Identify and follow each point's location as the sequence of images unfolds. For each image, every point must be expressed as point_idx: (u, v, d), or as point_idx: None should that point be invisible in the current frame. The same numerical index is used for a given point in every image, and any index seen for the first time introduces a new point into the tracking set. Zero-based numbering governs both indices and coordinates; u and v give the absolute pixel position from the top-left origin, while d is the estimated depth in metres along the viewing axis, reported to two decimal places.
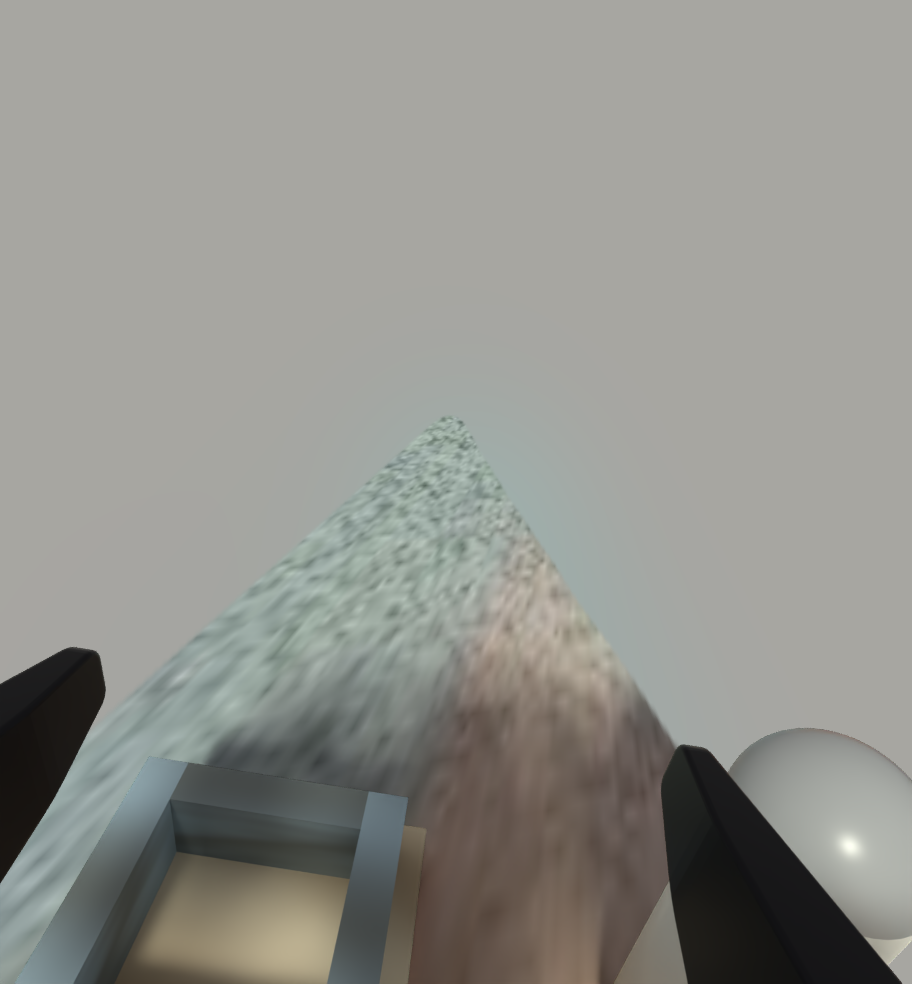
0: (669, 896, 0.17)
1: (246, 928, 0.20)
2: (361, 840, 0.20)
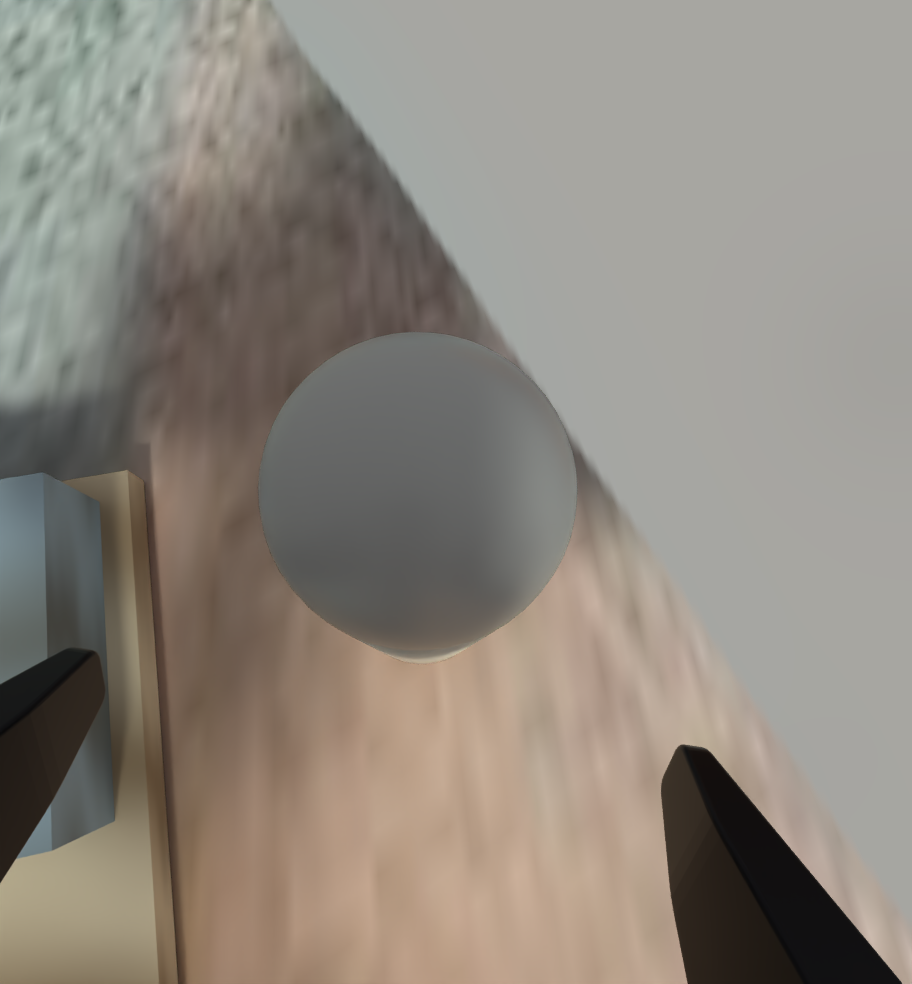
0: None
1: None
2: None
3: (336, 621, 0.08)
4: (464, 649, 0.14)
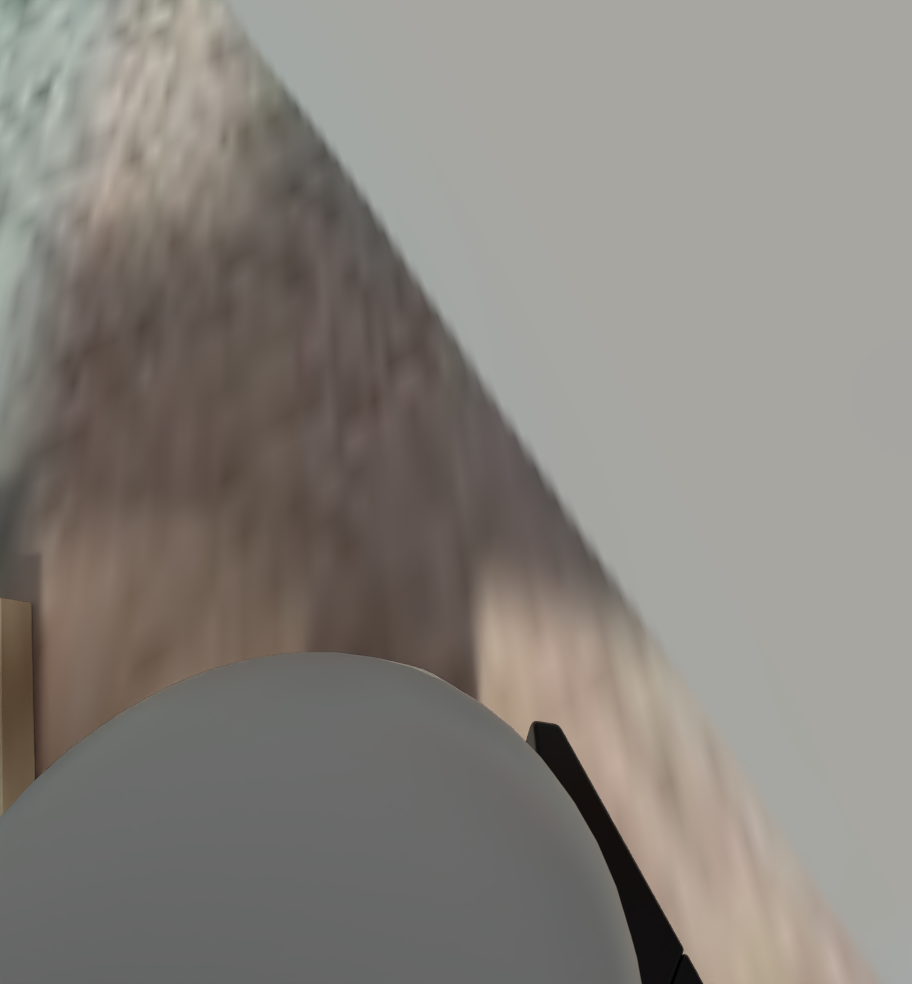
0: None
1: None
2: None
3: None
4: None
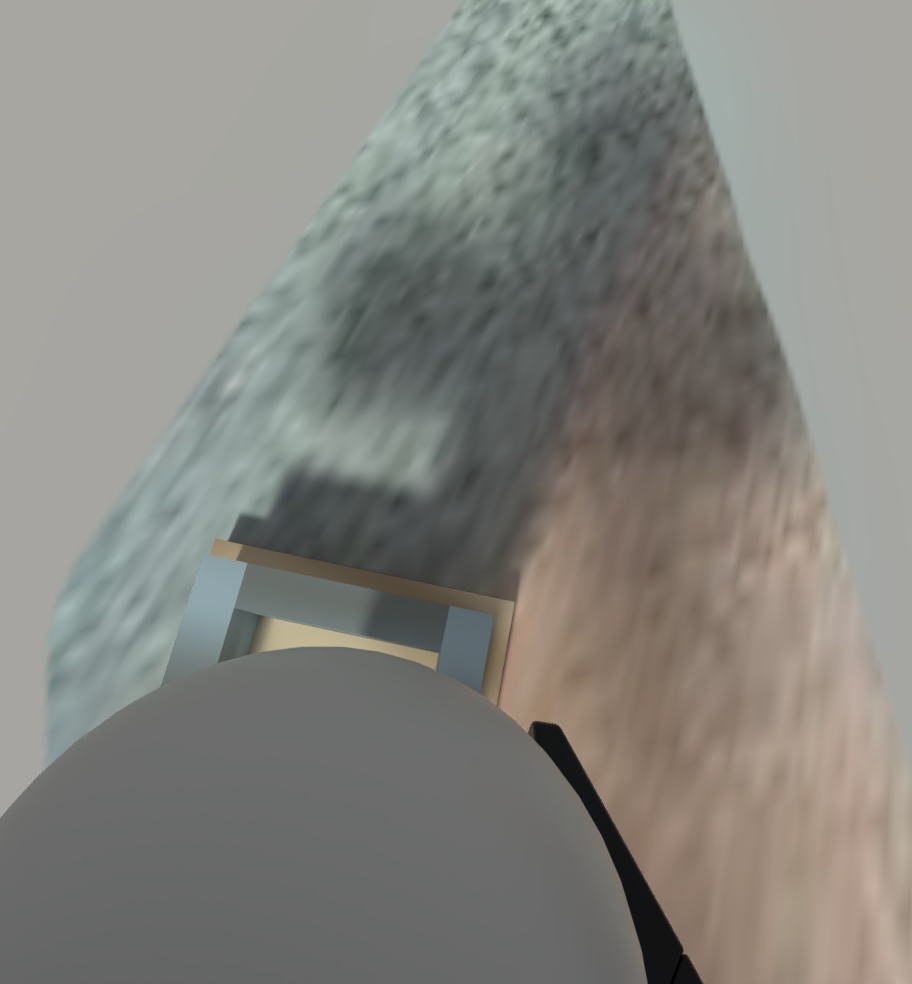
0: None
1: None
2: (441, 664, 0.19)
3: None
4: None
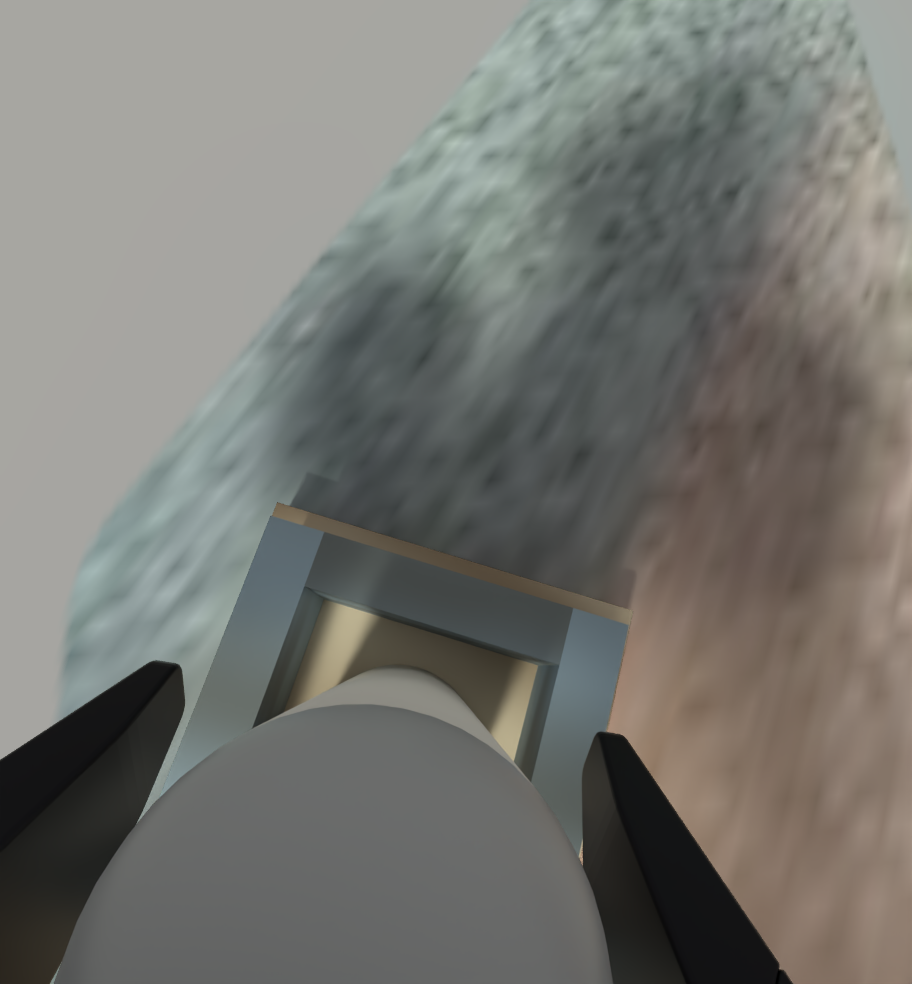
0: None
1: None
2: (560, 682, 0.15)
3: None
4: None
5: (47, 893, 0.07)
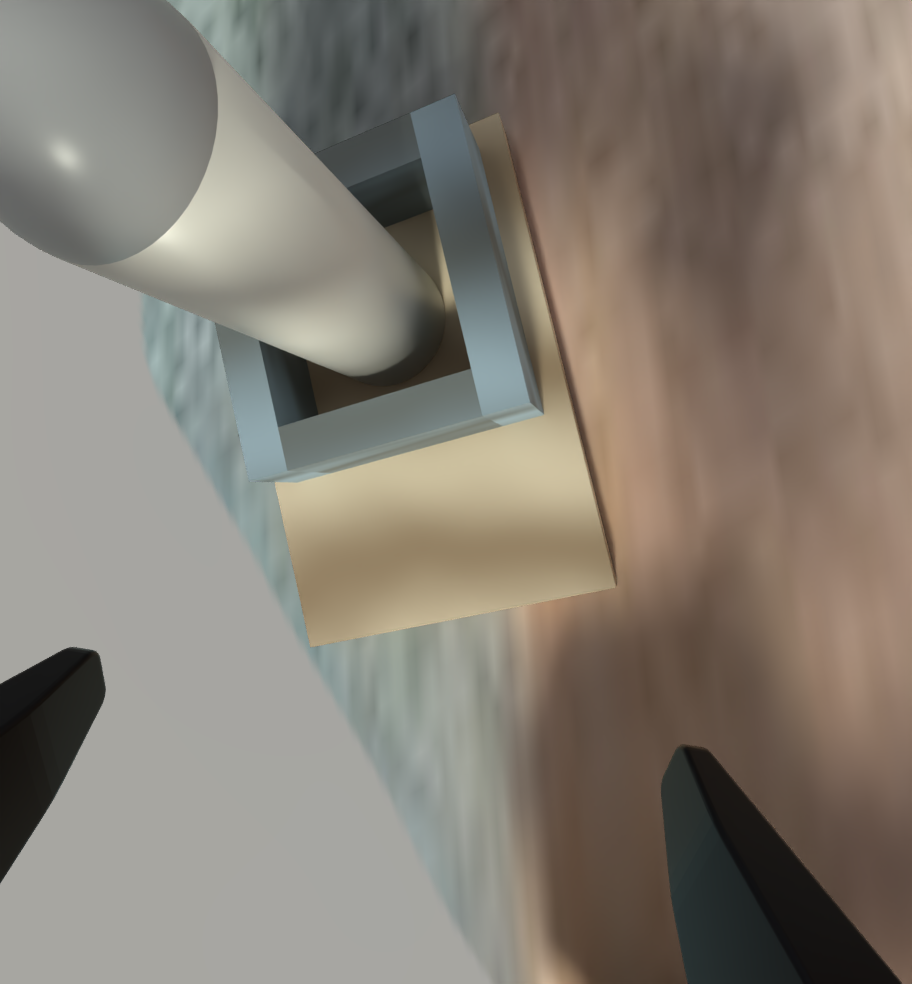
0: None
1: None
2: (427, 168, 0.18)
3: (76, 247, 0.10)
4: (366, 305, 0.16)
5: None
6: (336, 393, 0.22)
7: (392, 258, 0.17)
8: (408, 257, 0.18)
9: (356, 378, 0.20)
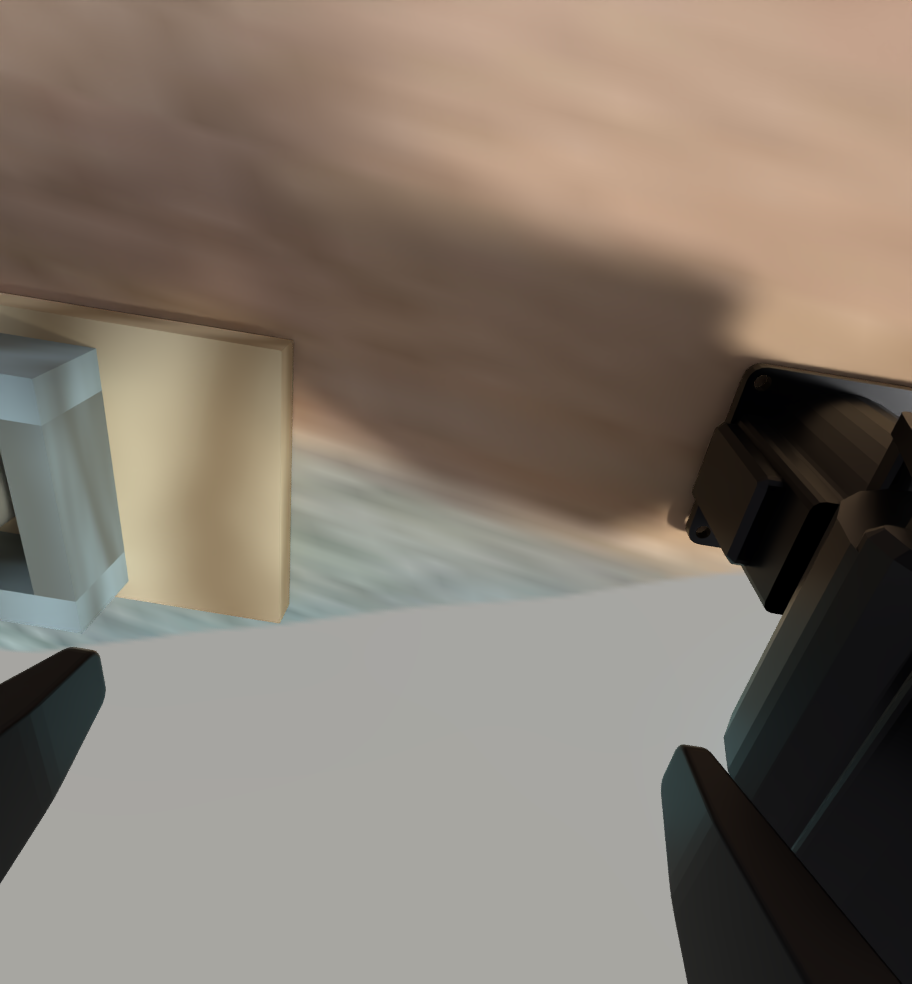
0: None
1: None
2: None
3: None
4: None
5: None
6: None
7: None
8: None
9: None
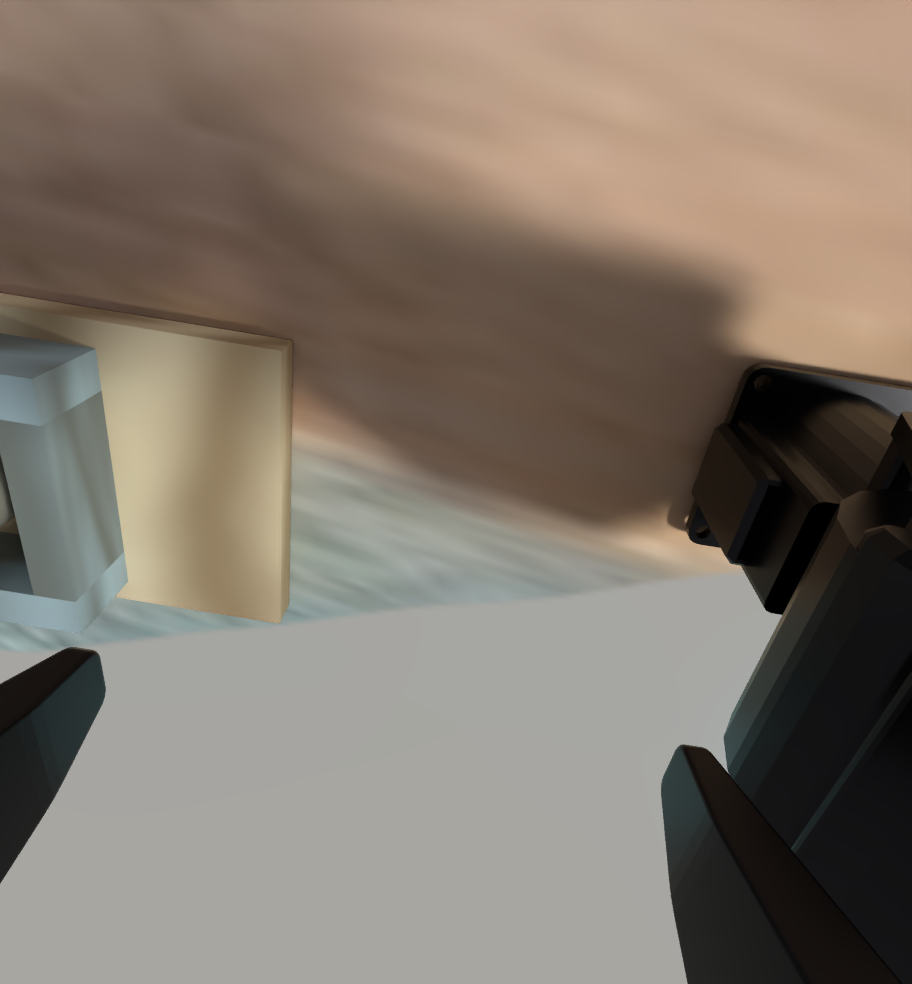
0: None
1: None
2: None
3: None
4: None
5: None
6: None
7: None
8: None
9: None
